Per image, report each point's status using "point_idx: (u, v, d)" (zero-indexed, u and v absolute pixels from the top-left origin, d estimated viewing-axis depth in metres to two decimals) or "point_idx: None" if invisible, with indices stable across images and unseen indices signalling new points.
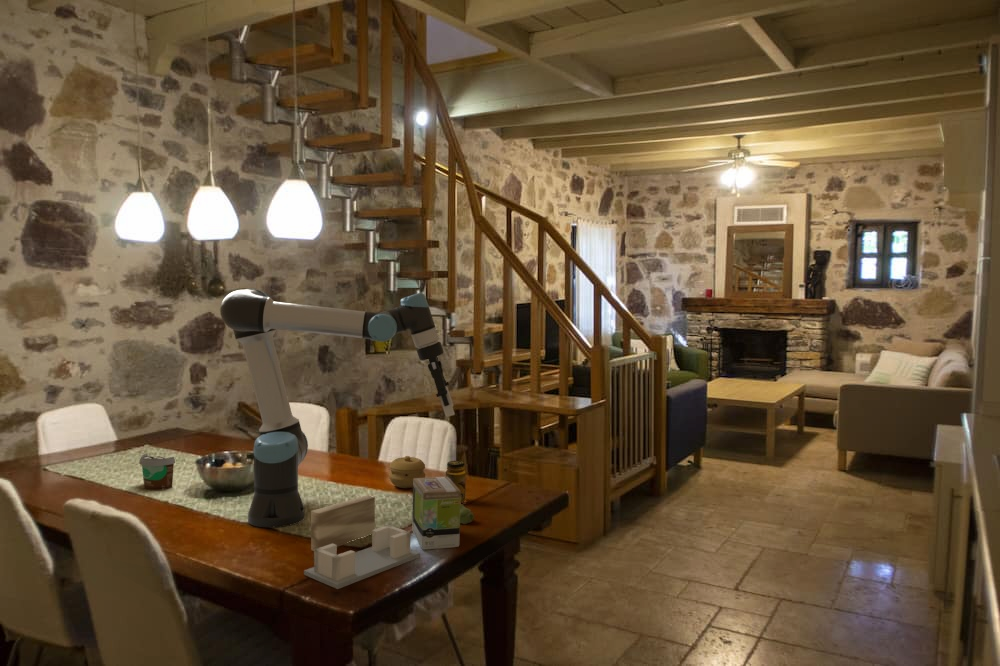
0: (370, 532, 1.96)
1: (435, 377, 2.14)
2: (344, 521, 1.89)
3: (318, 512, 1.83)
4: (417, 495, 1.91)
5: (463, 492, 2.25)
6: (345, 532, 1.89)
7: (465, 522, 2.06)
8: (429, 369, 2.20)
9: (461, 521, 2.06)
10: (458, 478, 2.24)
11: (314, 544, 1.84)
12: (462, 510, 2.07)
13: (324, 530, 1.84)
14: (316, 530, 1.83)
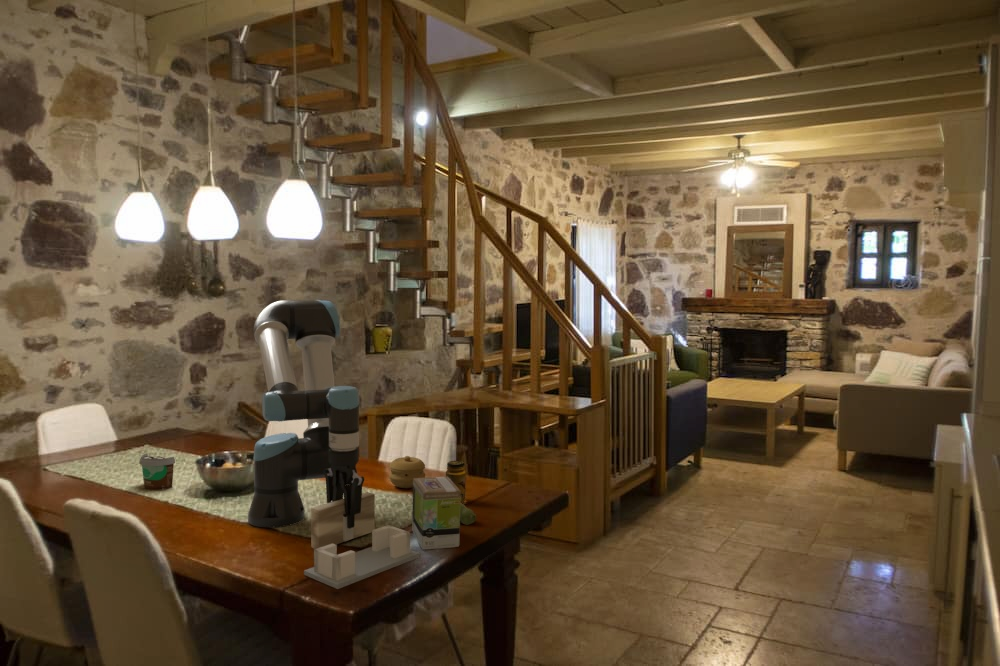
0: (370, 529, 1.96)
1: None
2: None
3: (318, 509, 1.83)
4: (417, 495, 1.91)
5: (463, 492, 2.25)
6: None
7: (468, 523, 2.05)
8: None
9: (464, 522, 2.05)
10: (458, 478, 2.24)
11: (314, 541, 1.84)
12: (464, 510, 2.06)
13: (325, 527, 1.84)
14: (316, 527, 1.83)
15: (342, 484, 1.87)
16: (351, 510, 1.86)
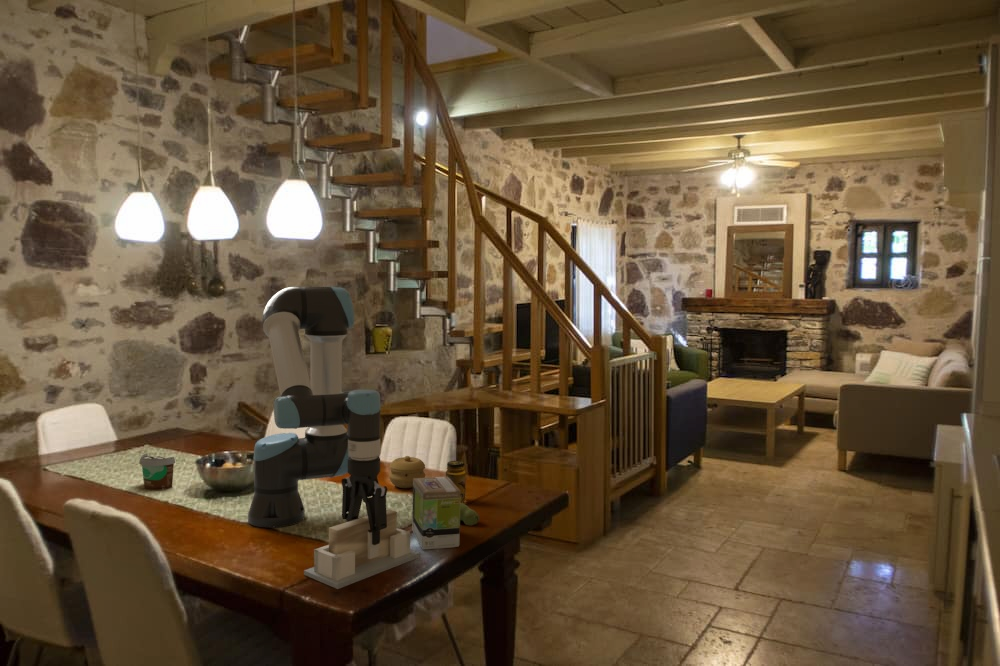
0: None
1: None
2: (364, 539, 1.73)
3: (336, 528, 1.68)
4: (417, 495, 1.91)
5: (463, 492, 2.25)
6: (365, 550, 1.73)
7: (471, 524, 2.04)
8: None
9: (467, 523, 2.04)
10: (458, 478, 2.24)
11: None
12: (467, 511, 2.05)
13: (344, 549, 1.68)
14: (335, 549, 1.67)
15: (364, 497, 1.71)
16: (376, 525, 1.70)
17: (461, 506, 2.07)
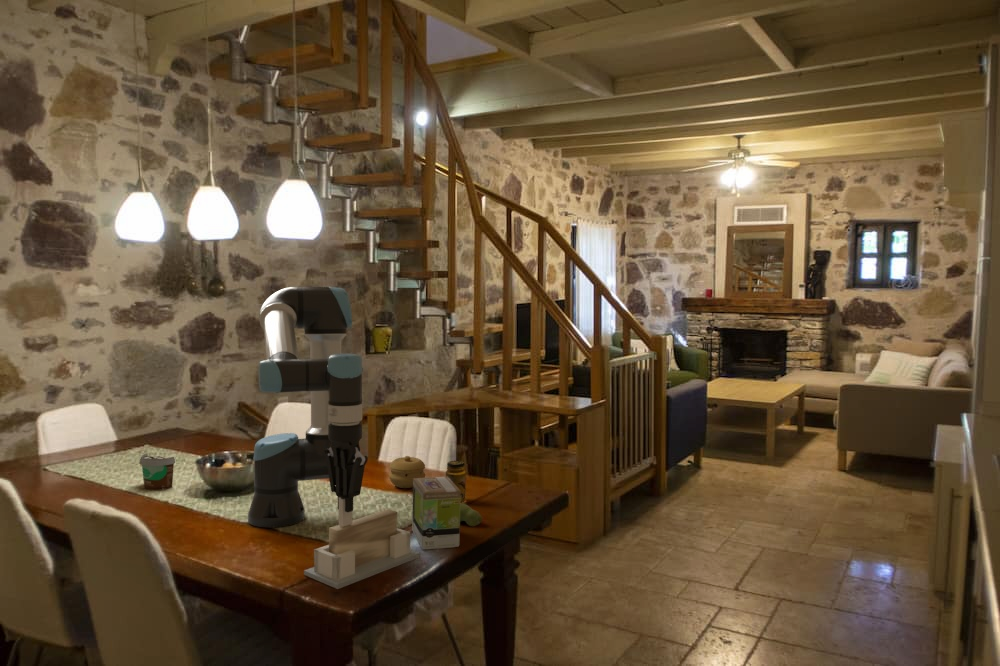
0: None
1: None
2: (364, 539, 1.73)
3: (337, 529, 1.68)
4: (417, 495, 1.91)
5: (463, 492, 2.25)
6: (365, 550, 1.73)
7: (473, 524, 2.04)
8: None
9: (469, 523, 2.04)
10: (458, 478, 2.24)
11: None
12: (470, 512, 2.05)
13: (344, 549, 1.68)
14: (335, 549, 1.67)
15: (343, 463, 1.67)
16: (350, 491, 1.67)
17: (463, 507, 2.06)
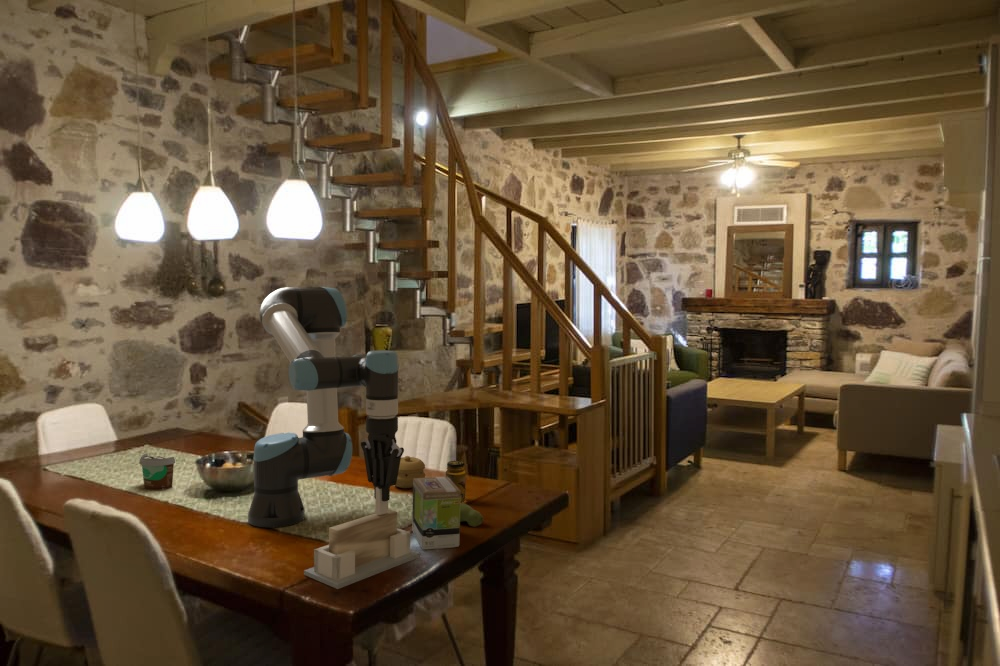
0: None
1: None
2: (364, 539, 1.73)
3: (337, 529, 1.68)
4: (417, 495, 1.91)
5: (463, 492, 2.25)
6: (365, 550, 1.73)
7: (475, 525, 2.04)
8: None
9: (471, 524, 2.03)
10: (458, 478, 2.24)
11: None
12: (471, 512, 2.05)
13: (344, 549, 1.68)
14: (335, 549, 1.67)
15: (380, 454, 1.75)
16: (387, 481, 1.75)
17: (465, 507, 2.06)
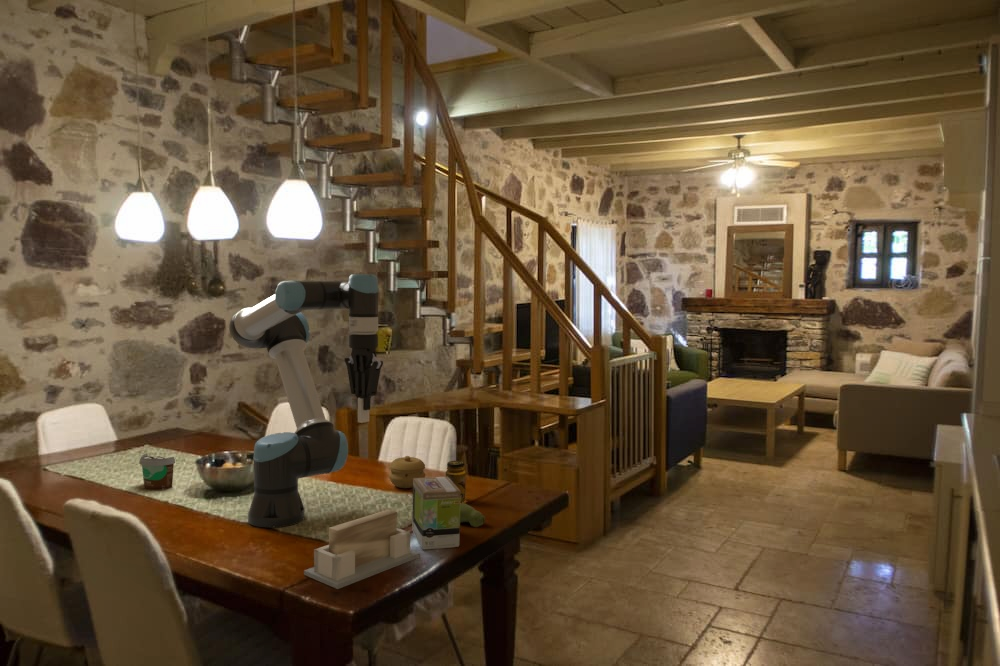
0: None
1: None
2: (364, 539, 1.73)
3: (337, 529, 1.68)
4: (417, 495, 1.91)
5: (463, 492, 2.25)
6: (365, 550, 1.73)
7: (477, 525, 2.03)
8: None
9: (473, 524, 2.03)
10: (458, 478, 2.24)
11: None
12: (473, 513, 2.04)
13: (344, 549, 1.68)
14: (335, 549, 1.67)
15: (361, 367, 1.94)
16: (367, 391, 1.94)
17: (467, 508, 2.05)
